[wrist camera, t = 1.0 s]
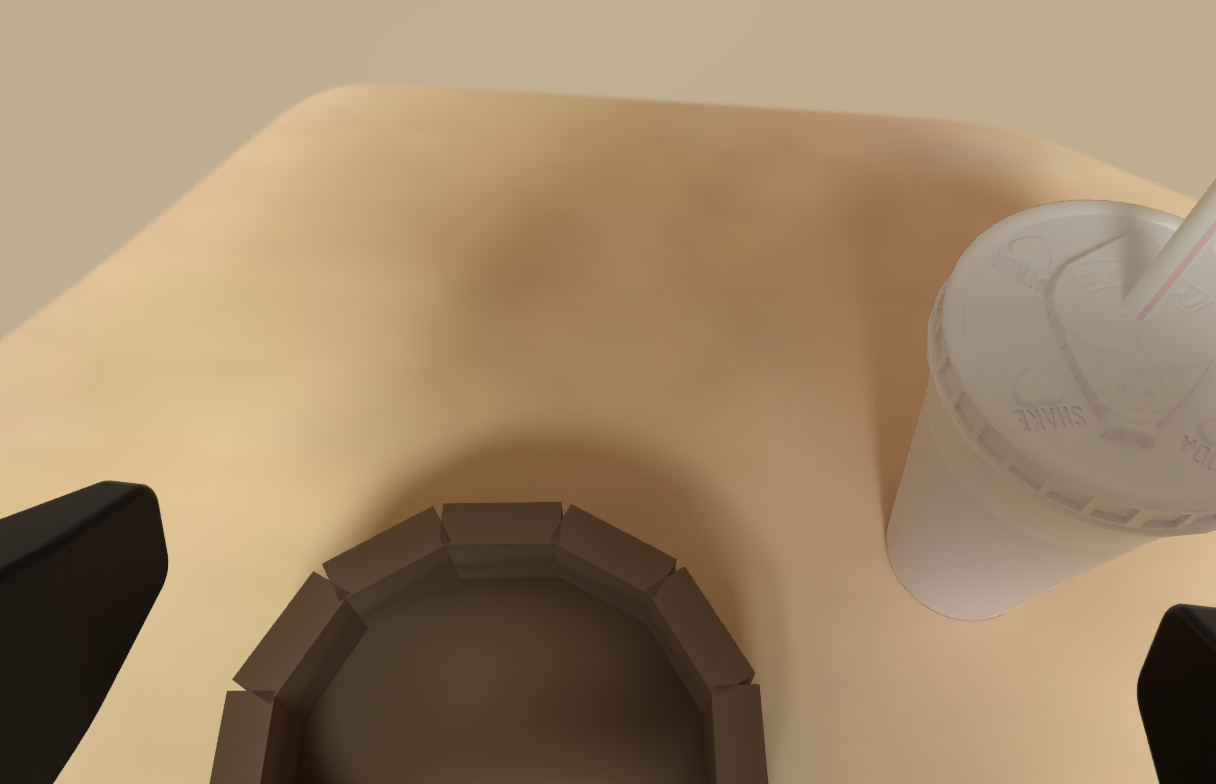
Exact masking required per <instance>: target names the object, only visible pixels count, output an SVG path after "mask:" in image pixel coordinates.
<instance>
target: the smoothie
mask: <svg viewBox="0 0 1216 784" xmlns="http://www.w3.org/2000/svg"><path fill="white" fill-rule="evenodd" d="M927 363H928V366H929V370H930V376H929V380H928V385H927V389H926V393H925V396H924V400H923V403H922V407H921V410H920V414H919V417H918V421H917V424H916V428H915V431H914V435H913V439H912V442H911V446H910V449H909V453H908V456H907V460H906V463H905V467H904V470H903V474H902V477H901V481H900V484H899V488H898V491H897V495H896V498H895V502H894V505H893V509H892V512H891V516H890V519H889V523H888V527H887V533H886V546H887V553H888V557H889V560H890V563H891V566H892V568H893V570H894V572H895V574H896V576H897V578H898V579H899V581H900V582H901V583H902V585H903V586H904V587H905V588H906V590H907V591H908V592H909V593H910V594H911V595H912V596H913V597H915V598H916V599H917V600H918V601H919V602H921V603H922V604H924V605H925V606H927V607H928V608H930V609H932V610H934V611H936V612H938V613H940V614H942V615H945V616H948V617H952V618H956V619H962V620H984V619H990V618H994V617H996V616H999V615H1002V614H1004V613H1006V612H1008V611H1010V610H1012V609H1014V608H1016V607H1018V606H1020V605H1022V604H1024V603H1026V602H1028V601H1030V600H1032V599H1034V598H1036V597H1038V596H1040V595H1043V594H1045V593H1047V592H1049V591H1051V590H1053V589H1055V588H1057V587H1059V586H1061V585H1063V584H1065V583H1067V582H1069V581H1071V580H1073V579H1075V578H1077V577H1079V576H1081V575H1084V574H1086V573H1088V572H1090V571H1092V570H1094V569H1096V568H1098V567H1100V566H1102V565H1104V564H1106V563H1108V562H1110V561H1112V560H1114V559H1116V558H1118V557H1120V556H1122V555H1124V554H1127V553H1129V552H1131V551H1133V550H1135V549H1137V548H1139V547H1141V546H1143V545H1145V544H1147V543H1150V542H1152V541H1155V540H1157V539H1159V538H1161V537H1170V536H1181V535H1192V534H1203V533H1209V532H1211V531H1214V530H1216V179H1215V181H1214V182H1213V183H1212V185H1211V186H1210V187H1209V189H1208V190H1207V192H1206V193H1205V194H1204V195H1203V196H1202V198H1201V199H1200V200H1199V202H1198V203H1197V204H1196V206H1195V207H1194V208H1193V209H1192V211H1191V212H1190V213H1189V215H1188V216H1187V217H1186V219H1183V218H1180V217H1178V216H1176V215H1173V214H1169V213H1166V212H1162V211H1159V210H1156V209H1152V208H1148V207H1145V206H1141V205H1136V204H1129V203H1123V202H1115V201H1107V200H1069V201H1060V202H1053V203H1048V204H1043V205H1038V206H1035V207H1032V208H1028V209H1025V210H1022V211H1020V212H1017V213H1015V214H1012V215H1010V216H1008V217H1006V218H1004V219H1002V220H1000V221H998V222H997V223H995V224H994V225H992V226H991V227H989V228H988V229H986V230H985V231H984V232H983V233H982V234H980V235H979V236H978V237H977V238H976V239H975V240H974V241H973V242H972V243H971V244H970V245H969V246H968V247H967V249H966V250H965V251H964V253H963V254H962V256H961V257H960V258H959V260H958V262H957V264H956V266H955V267H954V269H953V271H952V273H951V276H950V277H949V278H948V279H947V280H946V282H945V283H944V284H943V285H942V287H941V288H940V289H939V292H938V295H937V298H936V301H935V303H934V306H933V309H932V312H931V315H930V317H929V320H928V323H927Z"/></svg>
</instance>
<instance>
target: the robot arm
mask: <svg viewBox="0 0 1216 784" xmlns="http://www.w3.org/2000/svg"><path fill="white" fill-rule="evenodd" d="M167 571H168V554H167V548H166V542H165V537H164V531H163V525H162V520H161V514H160V508H159V503H158V499H157V496H156V494H155V492H154V491H153V490H152V489H151V488H150V487H148V486H147V485H144V484H136V483H127V482H119V481H102V482H99V483H96V484H94V485H91V486H88V487H86V488H83V489H80V490H77V491H75V492H72V493H69V494H67V495H64V496H61V497H59V498H56V499H53V500H51V501H48V502H45V503H43V504H40V505H37V506H34V507H32V508H29V509H26V510H24V511H21V512H18V513H16V514H13V515H10V516H8V517H5V518H2V519H0V784H53V783H54V782H55V780H56V779H57V777H58V775H59V774H60V772H61V771H62V769H63V768H64V766H65V765H66V763H67V762H68V760H69V759H70V757H71V756H72V754H73V753H74V751H75V749H76V748H77V746H78V744H79V743H80V741H81V740H82V738H83V736H84V735H85V733H86V732H87V730H88V728H89V727H90V725H91V723H92V721H93V720H94V718H95V716H96V714H97V712H98V711H99V709H100V707H101V705H102V704H103V702H104V700H105V698H106V696H107V694H108V692H109V690H110V688H111V686H112V684H113V682H114V680H115V678H116V676H117V674H118V673H119V671H120V669H121V667H122V665H123V663H124V661H125V659H126V657H127V655H128V653H129V651H130V649H131V647H132V645H133V643H134V642H135V640H136V638H137V636H138V634H139V632H140V630H141V628H142V626H143V624H144V622H145V620H146V618H147V616H148V614H149V612H150V610H151V609H152V607H153V605H154V603H155V601H156V599H157V597H158V595H159V593H160V591H161V589H162V587H163V585H164V582H165V579H166V576H167ZM1137 701H1138V706H1139V710H1140V714H1141V718H1142V721H1143V725H1144V729H1145V733H1146V736H1147V740H1148V744H1149V747H1150V751H1151V755H1152V759H1153V762H1154V766H1155V770H1156V774H1157V777H1158V781H1159V784H1216V608H1215V607H1206V606H1197V605H1188V604H1177V605H1174V606H1172V607H1170V608H1169V609H1168V610H1167V611H1166V612H1165V614H1164V616H1163V618H1162V620H1161V622H1160V624H1159V627H1158V629H1157V632H1156V634H1155V637H1154V639H1153V642H1152V644H1151V647H1150V649H1149V652H1148V654H1147V657H1146V659H1145V662H1144V664H1143V666H1142V669H1141V671H1140V674H1139V678H1138V683H1137Z"/></svg>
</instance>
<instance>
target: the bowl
mask: <svg viewBox="0 0 1216 784" xmlns="http://www.w3.org/2000/svg"><path fill="white" fill-rule="evenodd" d="M676 560H677V559H675V558H673V557H671V556H669V555H667V554H665V553H663V552H662V551H660V550H658V549H656V548H654V547H652V546H650V545H648V544H646V543H644V542H642V541H640V540H639V539H637V538H635V537H633V536H631V535H629V534H627V533H625V532H623V531H621V530H619V529H617V528H616V527H614V526H612V525H610V524H608V523H606V522H604V521H602V520H600V519H598V518H596V517H594V516H593V515H591V514H589V513H587V512H585V511H583V510H581V509H579V508H577V507H575V506H573V505H571V506H570V507H569V509H568V511H567V512H566V514H565V515H564V517H563V512H562V504H561V502H531V503H455V504H443V511H442V522H441V520H440V519H439V517H438V515H437V513H436V511H435V509H434V508H433V506H432V507H430V508H429V509H427V510H425V511H423V512H421V513H419V514H417V515H415V516H413V517H411V518H409V519H407V520H406V521H404V522H402V523H400V524H398V525H396V526H394V527H392V528H390V529H388V530H386V531H384V532H382V533H381V534H379V535H377V536H375V537H373V538H371V539H369V540H367V541H365V542H363V543H361V544H359V545H357V546H356V547H354V548H352V549H350V550H348V551H346V552H344V553H342V554H340V555H338V556H336V557H334V558H333V559H331V560H329V561H327V562H325V563H323V564H322V565H323V567H324V569H325V571H326V573H327V576H328V578H329V580H330V581H329V580H327V579H326V578H324V577H322V576H320V575H319V574H317V573H315V572H314V571H313V572H312V574H311V575H310V576H309V578H308V579H307V580H306V582H305V583H304V584H303V586H302V587H301V588H300V590H299V591H298V592H297V594H296V595H295V596H294V598H293V599H292V600H291V602H290V603H289V604H288V606H287V607H286V608H285V610H284V611H283V612H282V614H281V615H280V616H279V618H278V619H277V620H276V622H275V623H274V624H273V626H272V627H271V628H270V630H269V631H268V632H267V634H266V635H265V636H264V638H263V639H262V640H261V642H260V643H259V644H258V646H257V647H256V648H255V650H254V651H253V652H252V654H251V655H250V656H249V658H248V659H247V660H246V662H245V663H244V664H243V666H242V667H241V668H240V670H239V671H238V672H237V674H236V675H235V676H234V678H233V679H232V680H233V681H235V682H236V683H237V684H239V685H240V686H242V687H243V688H244V689H246V690H247V691H227V694H226V699H225V704H224V710H223V715H222V720H221V726H220V731H219V736H218V742H217V747H216V752H215V758H214V763H213V768H212V773H211V779H210V784H768V776H767V765H766V753H765V742H764V731H763V719H762V708H761V697H760V686H759V684H752V685H750V683H751V681H752V679H753V677H754V675H755V672H754V670H753V669H752V667H751V666H750V664H749V663H748V661H747V660H746V658H745V657H744V655H743V654H742V652H741V651H740V649H739V648H738V646H737V645H736V643H735V642H734V640H733V639H732V637H731V636H730V634H729V633H728V631H727V630H726V628H725V627H724V625H723V624H722V622H721V621H720V619H719V618H718V616H717V614H716V613H715V611H714V610H713V608H712V607H711V605H710V604H709V602H708V601H707V599H706V598H705V596H704V595H703V593H702V592H701V590H700V589H699V587H698V586H697V584H696V583H695V581H694V580H693V578H692V577H691V575H690V574H689V572H688V571H687V569H686V568H685V567H683V568H681V569H680V570H678V571H676V572H675V567H676Z"/></svg>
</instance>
